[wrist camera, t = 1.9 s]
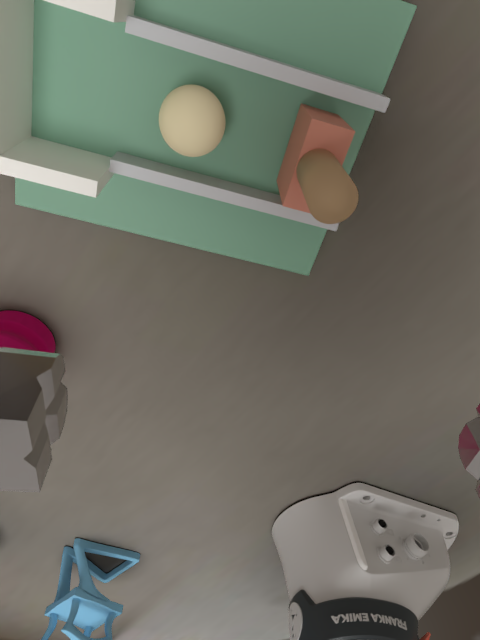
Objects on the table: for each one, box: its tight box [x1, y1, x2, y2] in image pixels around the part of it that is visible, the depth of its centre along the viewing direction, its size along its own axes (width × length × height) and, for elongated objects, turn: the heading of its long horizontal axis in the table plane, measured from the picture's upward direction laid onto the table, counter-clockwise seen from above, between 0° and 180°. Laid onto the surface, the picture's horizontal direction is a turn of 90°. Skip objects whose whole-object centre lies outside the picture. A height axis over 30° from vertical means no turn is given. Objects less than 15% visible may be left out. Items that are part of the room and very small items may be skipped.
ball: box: [159, 84, 226, 157], centre depth 28 cm, size 4×4×4 cm
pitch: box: [0, 0, 417, 276], centre depth 28 cm, size 22×18×6 cm
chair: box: [41, 538, 140, 640], centre depth 54 cm, size 8×8×12 cm
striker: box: [276, 103, 359, 224], centre depth 26 cm, size 2×5×10 cm, turn 165°
